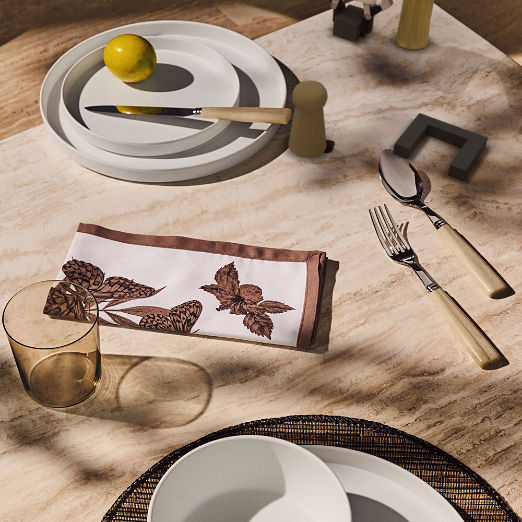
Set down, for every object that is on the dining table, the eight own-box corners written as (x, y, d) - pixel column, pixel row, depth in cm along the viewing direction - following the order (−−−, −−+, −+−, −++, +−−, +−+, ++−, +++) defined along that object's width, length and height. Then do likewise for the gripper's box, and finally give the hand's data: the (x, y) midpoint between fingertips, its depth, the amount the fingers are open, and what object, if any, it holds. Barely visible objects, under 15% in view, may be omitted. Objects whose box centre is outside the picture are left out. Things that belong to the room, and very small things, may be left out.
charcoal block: (370, 28, 130) (372, 11, 127) (355, 42, 127) (357, 25, 124) (347, 20, 132) (349, 3, 129) (332, 35, 128) (333, 18, 126)
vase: (409, 28, 130) (421, -46, 119) (434, 41, 127) (450, -34, 116) (388, 40, 127) (398, -34, 116) (414, 54, 124) (427, -22, 113)
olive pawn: (309, 162, 105) (313, 104, 97) (280, 146, 108) (281, 87, 99) (334, 144, 108) (339, 85, 99) (305, 127, 111) (307, 69, 102)
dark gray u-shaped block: (485, 147, 107) (488, 137, 105) (462, 180, 102) (465, 170, 100) (417, 122, 111) (419, 112, 110) (392, 153, 106) (394, 143, 105)
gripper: (417, -64, 114) (401, 34, 128) (328, -87, 120) (322, 9, 134) (397, -46, 110) (383, 53, 124) (306, -71, 116) (303, 26, 130)
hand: (351, 29), depth 129 cm, fingers closed on charcoal block, 5 cm apart
